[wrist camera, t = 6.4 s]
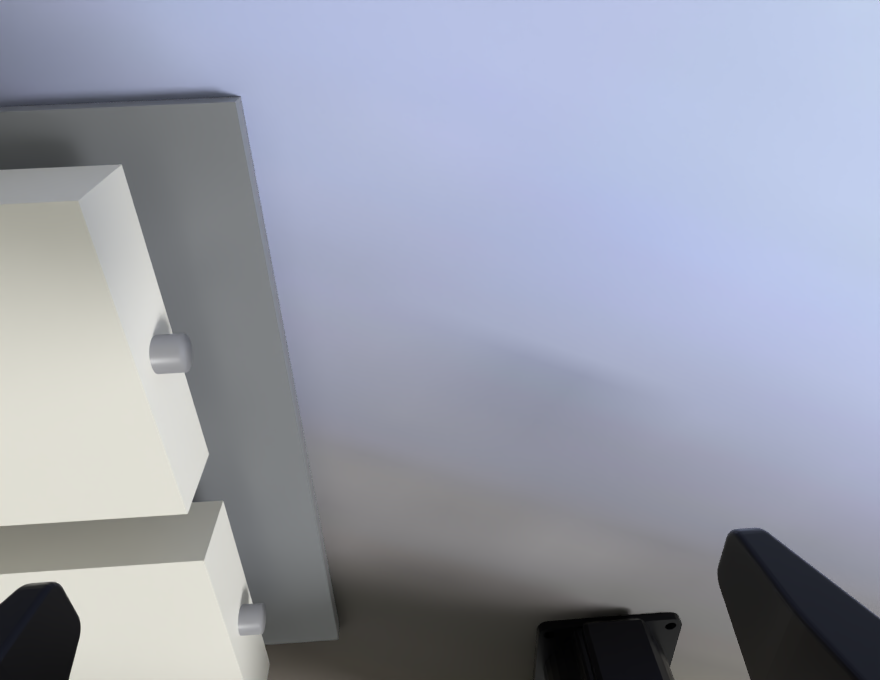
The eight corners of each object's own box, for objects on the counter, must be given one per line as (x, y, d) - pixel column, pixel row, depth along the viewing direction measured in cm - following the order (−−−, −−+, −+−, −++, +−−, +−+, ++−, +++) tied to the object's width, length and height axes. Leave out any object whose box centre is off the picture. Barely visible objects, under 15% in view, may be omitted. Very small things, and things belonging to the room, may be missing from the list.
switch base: (340, 614, 28) (338, 643, 27) (-29, 640, 28) (-48, 672, 26) (245, 92, 16) (233, 103, 15) (-398, 119, 16) (-462, 133, 15)
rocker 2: (287, 662, 25) (278, 724, 23) (-31, 685, 25) (-69, 751, 23) (245, 499, 21) (228, 558, 19) (-148, 524, 20) (-209, 588, 18)
